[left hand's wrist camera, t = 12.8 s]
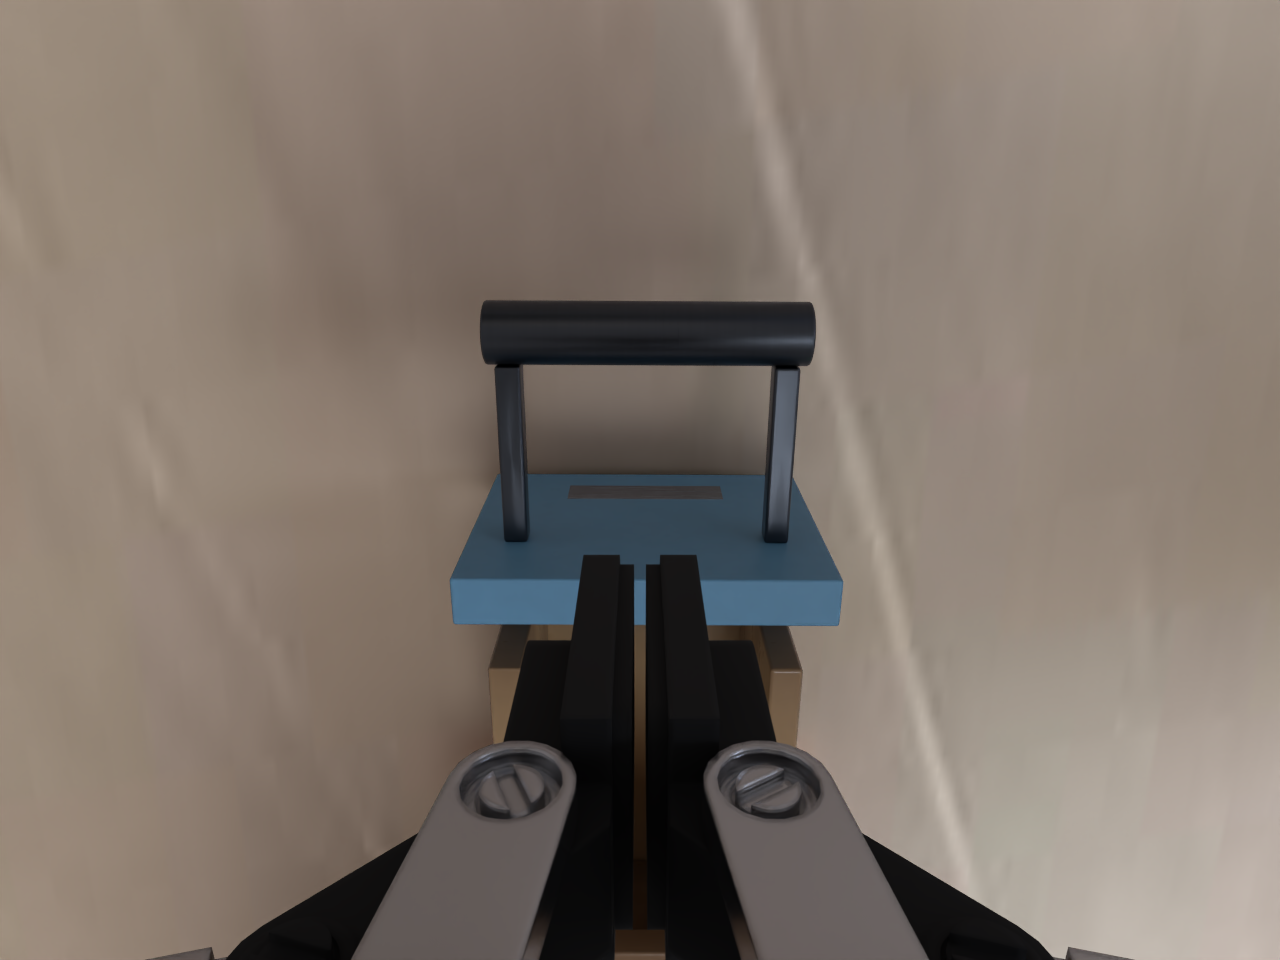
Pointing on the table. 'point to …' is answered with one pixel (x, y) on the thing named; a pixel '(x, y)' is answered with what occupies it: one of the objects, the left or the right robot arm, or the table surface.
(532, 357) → the drawer
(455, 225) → the table surface
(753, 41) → the table surface
